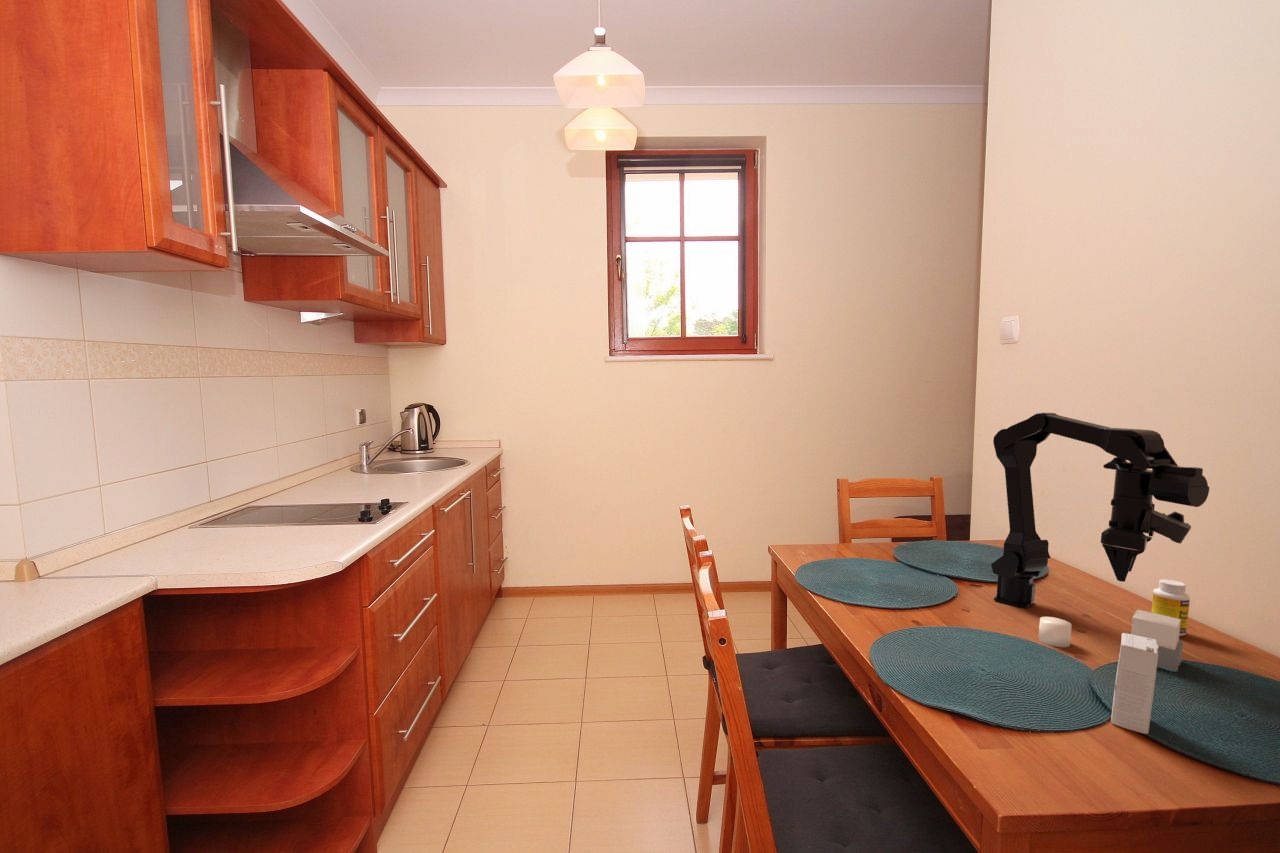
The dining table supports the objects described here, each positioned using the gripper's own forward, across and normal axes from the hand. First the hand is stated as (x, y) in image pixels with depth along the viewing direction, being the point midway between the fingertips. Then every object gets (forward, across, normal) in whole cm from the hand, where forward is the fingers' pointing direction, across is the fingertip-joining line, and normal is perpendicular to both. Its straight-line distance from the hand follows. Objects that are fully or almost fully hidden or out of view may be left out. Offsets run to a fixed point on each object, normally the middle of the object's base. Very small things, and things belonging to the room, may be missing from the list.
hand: (1124, 575), depth 115 cm
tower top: (+9, -5, -6) cm, 12 cm away
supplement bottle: (+13, +15, -6) cm, 21 cm away
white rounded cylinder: (+13, -10, +8) cm, 18 cm away
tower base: (+13, -5, -6) cm, 15 cm away
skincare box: (+13, -35, -6) cm, 38 cm away
